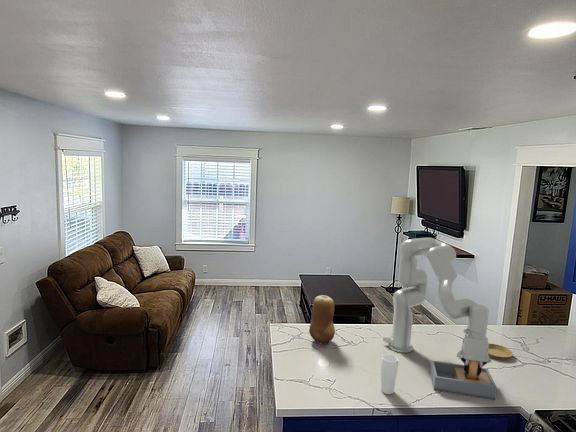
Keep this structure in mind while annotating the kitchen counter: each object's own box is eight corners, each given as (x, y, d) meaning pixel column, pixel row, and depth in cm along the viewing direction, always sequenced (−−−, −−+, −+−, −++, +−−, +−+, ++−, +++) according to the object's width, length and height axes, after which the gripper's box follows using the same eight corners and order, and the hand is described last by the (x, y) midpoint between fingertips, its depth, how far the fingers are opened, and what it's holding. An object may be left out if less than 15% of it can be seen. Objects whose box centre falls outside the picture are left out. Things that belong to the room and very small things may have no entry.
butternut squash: (338, 341, 213) (341, 296, 210) (327, 350, 202) (329, 303, 198) (315, 334, 220) (318, 290, 217) (303, 342, 209) (305, 297, 206)
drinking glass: (377, 386, 171) (379, 354, 169) (392, 386, 171) (395, 354, 169) (382, 396, 164) (384, 362, 162) (397, 396, 165) (400, 362, 163)
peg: (467, 381, 172) (469, 360, 170) (465, 377, 175) (467, 355, 174) (477, 383, 171) (479, 361, 169) (475, 378, 175) (477, 357, 173)
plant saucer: (518, 361, 199) (519, 356, 199) (492, 362, 197) (493, 357, 197) (498, 347, 214) (499, 342, 213) (474, 348, 211) (474, 343, 211)
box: (433, 390, 170) (435, 377, 169) (430, 372, 185) (431, 360, 184) (494, 400, 165) (496, 386, 164) (486, 381, 179) (487, 368, 178)
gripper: (457, 334, 168) (453, 374, 171) (500, 340, 165) (495, 381, 167) (454, 327, 176) (450, 366, 178) (495, 332, 172) (490, 372, 174)
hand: (472, 373), depth 173 cm, fingers closed on peg, 4 cm apart
